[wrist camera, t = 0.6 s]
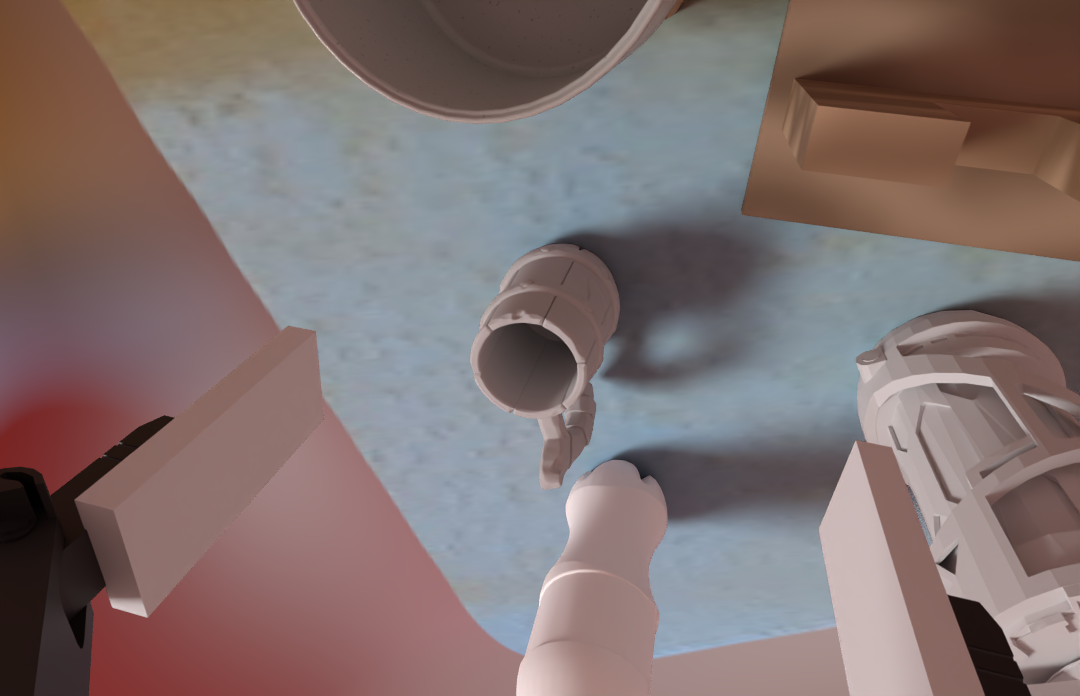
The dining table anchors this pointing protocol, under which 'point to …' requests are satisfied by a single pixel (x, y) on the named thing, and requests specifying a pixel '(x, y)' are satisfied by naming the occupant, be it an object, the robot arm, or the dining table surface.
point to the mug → (548, 347)
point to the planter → (482, 49)
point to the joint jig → (926, 122)
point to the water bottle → (600, 591)
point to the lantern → (989, 474)
